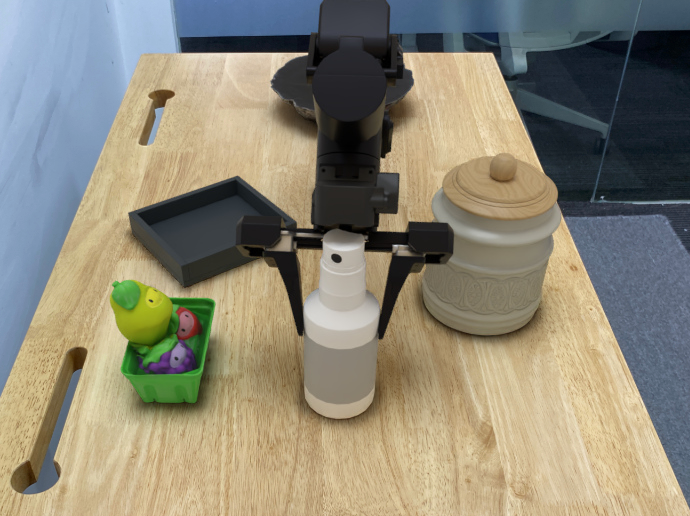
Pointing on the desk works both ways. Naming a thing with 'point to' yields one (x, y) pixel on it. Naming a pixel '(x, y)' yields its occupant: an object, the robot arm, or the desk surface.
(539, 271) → the jar
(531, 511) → the desk surface
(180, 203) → the tray
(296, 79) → the bowl
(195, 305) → the fruit basket
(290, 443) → the desk surface
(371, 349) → the spray bottle
